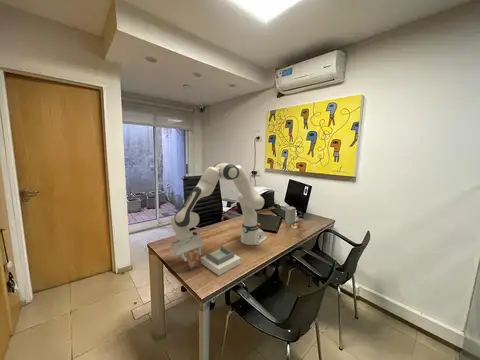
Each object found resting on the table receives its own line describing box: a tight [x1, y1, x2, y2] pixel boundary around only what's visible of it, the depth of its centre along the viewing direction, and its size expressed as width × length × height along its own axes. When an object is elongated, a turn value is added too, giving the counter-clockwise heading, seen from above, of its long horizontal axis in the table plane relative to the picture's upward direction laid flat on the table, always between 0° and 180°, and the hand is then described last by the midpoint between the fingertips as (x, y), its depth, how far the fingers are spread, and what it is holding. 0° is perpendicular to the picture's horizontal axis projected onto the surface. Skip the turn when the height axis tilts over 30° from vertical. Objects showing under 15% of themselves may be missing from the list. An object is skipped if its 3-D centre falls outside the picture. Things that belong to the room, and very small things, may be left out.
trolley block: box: [187, 249, 200, 271], centre depth 124 cm, size 5×4×10 cm
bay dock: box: [200, 245, 242, 276], centre depth 129 cm, size 18×18×7 cm
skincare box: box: [284, 206, 297, 225], centre depth 203 cm, size 8×7×16 cm
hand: (193, 258), depth 124 cm, fingers open, 8 cm apart
